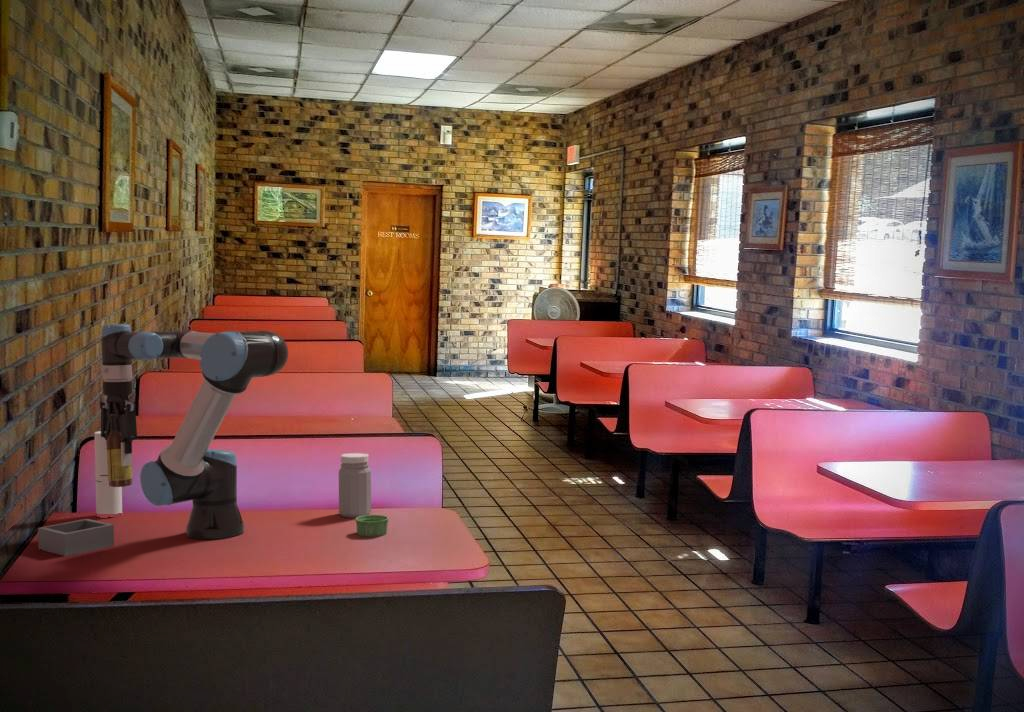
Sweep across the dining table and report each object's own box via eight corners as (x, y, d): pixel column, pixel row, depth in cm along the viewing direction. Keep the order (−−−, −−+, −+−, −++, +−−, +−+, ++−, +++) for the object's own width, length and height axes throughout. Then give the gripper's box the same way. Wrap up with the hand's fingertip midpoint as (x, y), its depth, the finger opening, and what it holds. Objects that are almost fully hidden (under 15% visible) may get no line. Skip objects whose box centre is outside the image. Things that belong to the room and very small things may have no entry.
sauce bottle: (137, 484, 273) (136, 413, 272) (119, 488, 268) (118, 415, 267) (120, 482, 276) (118, 412, 275) (102, 486, 270) (100, 414, 269)
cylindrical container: (116, 518, 289) (114, 433, 288) (92, 518, 289) (90, 433, 288) (126, 513, 296) (124, 430, 295) (102, 513, 297) (100, 430, 295)
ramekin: (395, 533, 271) (395, 517, 271) (369, 539, 264) (369, 523, 264) (374, 528, 277) (374, 513, 277) (348, 534, 270) (348, 518, 270)
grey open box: (114, 545, 257) (113, 524, 256) (65, 556, 246) (64, 534, 245) (87, 539, 264) (86, 518, 263) (38, 549, 253) (37, 527, 253)
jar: (335, 512, 297) (334, 453, 296) (367, 510, 301) (366, 451, 300) (342, 519, 288) (342, 458, 287) (375, 516, 292) (375, 456, 291)
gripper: (85, 380, 273) (87, 463, 274) (125, 382, 262) (127, 469, 263) (109, 378, 279) (111, 459, 280) (150, 380, 268) (152, 465, 269)
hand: (119, 464), depth 271 cm, fingers closed on sauce bottle, 6 cm apart
